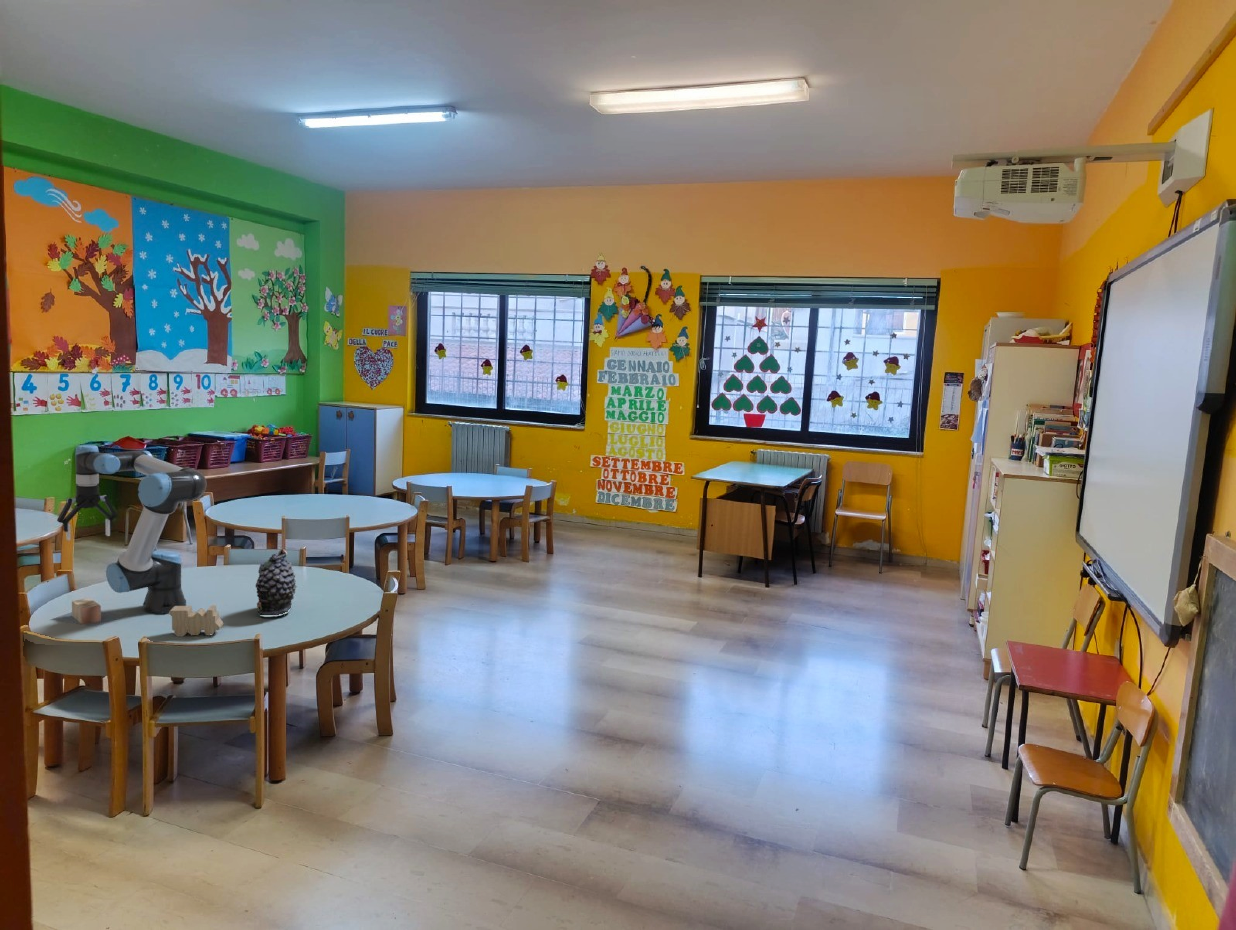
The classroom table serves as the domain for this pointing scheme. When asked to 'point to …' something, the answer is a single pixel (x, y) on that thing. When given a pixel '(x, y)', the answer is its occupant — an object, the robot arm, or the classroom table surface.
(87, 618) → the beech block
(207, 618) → the toy train
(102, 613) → the slate mat
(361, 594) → the classroom table surface
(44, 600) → the classroom table surface
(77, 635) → the classroom table surface
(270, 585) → the dark pine cone
